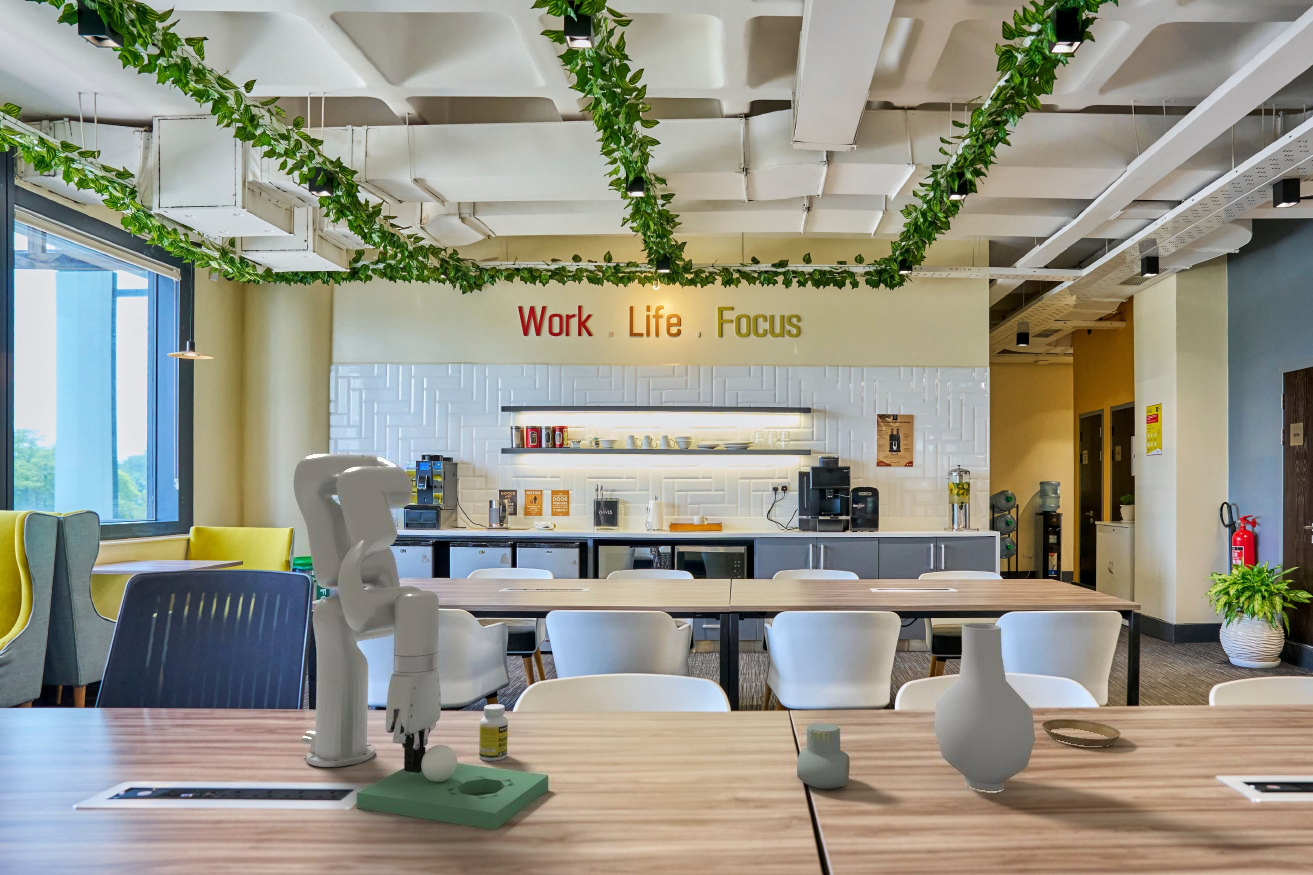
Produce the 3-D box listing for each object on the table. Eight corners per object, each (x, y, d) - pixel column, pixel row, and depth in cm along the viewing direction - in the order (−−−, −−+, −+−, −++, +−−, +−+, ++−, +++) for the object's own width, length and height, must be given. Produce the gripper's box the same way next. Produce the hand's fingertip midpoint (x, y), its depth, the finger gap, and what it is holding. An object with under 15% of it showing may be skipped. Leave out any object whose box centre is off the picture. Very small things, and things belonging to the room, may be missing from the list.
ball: (409, 755, 141) (438, 746, 139) (430, 745, 147) (458, 736, 145) (419, 790, 140) (448, 782, 138) (440, 779, 146) (468, 770, 144)
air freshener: (805, 771, 155) (805, 716, 155) (851, 776, 152) (850, 720, 153) (795, 791, 144) (794, 732, 145) (843, 797, 142) (842, 737, 142)
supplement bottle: (501, 762, 159) (501, 710, 160) (474, 760, 160) (475, 709, 161) (511, 753, 165) (512, 703, 165) (485, 751, 166) (486, 702, 166)
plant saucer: (1037, 744, 172) (1036, 731, 172) (1046, 726, 184) (1046, 714, 184) (1118, 756, 164) (1118, 743, 164) (1123, 737, 176) (1122, 725, 176)
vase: (1039, 779, 150) (1035, 623, 152) (1032, 811, 136) (1028, 637, 137) (943, 765, 158) (940, 616, 160) (927, 793, 144) (924, 629, 145)
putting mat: (356, 807, 137) (356, 792, 137) (421, 772, 154) (422, 758, 154) (495, 829, 128) (495, 812, 128) (548, 789, 145) (548, 774, 145)
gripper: (423, 653, 153) (422, 755, 152) (369, 670, 139) (368, 782, 138) (458, 656, 151) (457, 759, 150) (407, 673, 137) (406, 787, 136)
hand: (414, 770), depth 144 cm, fingers closed
